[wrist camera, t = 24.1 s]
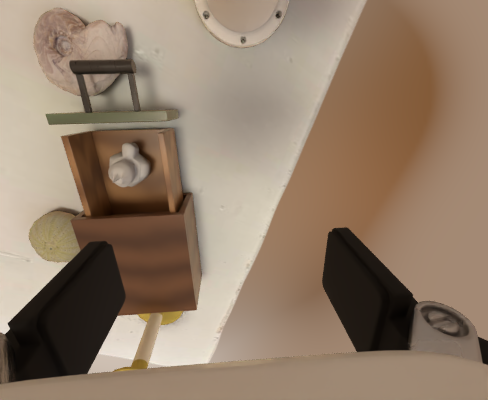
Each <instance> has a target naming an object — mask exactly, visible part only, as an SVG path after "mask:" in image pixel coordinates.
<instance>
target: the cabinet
mask: <svg viewBox="0 0 488 400" xmlns="http://www.w3.org/2000/svg"><path fill="white" fill-rule="evenodd" d="M70 221H71V224H72V227H73V230H74V233H75V236H76V239H77V242H78V245H79V248H80V251H81V250H82V249H83V248H84V247H85V246H86V245H87V244H88V243H89V242H93V241H107V243H108V244H111V245H112V247H113V250H114V254H115V257H116V261H117V264H118V268H119V272H120V275H121V279H122V282H123V286H124V290H125V294H126V298H125V302H124V304H123V306H122V308H121V310H120V312H119V314H118V316H120V315H134V314H148V313H162V312H176V311H190V310H197V304H198V297H199V291H200V284H201V277H202V272H201V263H200V255H199V246H198V237H197V229H196V220H195V211H194V203H193V194H192V193H183V204H182V206H181V208H180V210H179V212H174V213H154V214H134V215H114V216H94V217H86V215H85V212H84V211H82V212H81V213H80V214H78V215H77V216H75V217H74V218H73V219H71V220H70Z"/></svg>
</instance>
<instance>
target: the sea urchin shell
mask: <svg viewBox="0 0 488 400" xmlns="http://www.w3.org/2000/svg"><path fill="white" fill-rule="evenodd" d="M74 217H75V216H74V215H72V214H71V213H66V212H62V211H53V212H51V213H48V214H45V215H43V216H42V217H41V218H40V219H38V220H36V221H35V222H34V224H33V226H32V228H31V229H30V232H29V240H30V242H31V244H32V245H31V246H32V247H33V248H34V249H35V251H36V252H37V254H39V255H40V256H41V257H42V258H43V259H45V260H47V261H53V262H57V263H58V262H69V261H71V260H72V259H73V258H74V257H75V256H76V255H77V254H78V253H79V252H80V248H79V245H78V242H77V239H76V236H75V233H74V230H73V227H72V224H71V221H70V220H71V219H73V218H74Z"/></svg>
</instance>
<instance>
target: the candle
mask: <svg viewBox="0 0 488 400" xmlns="http://www.w3.org/2000/svg"><path fill="white" fill-rule="evenodd" d="M182 312H183V311H176V312H162V313H148V314H138V315H139V317H140V318H141V319H143V320H144V321H146V322H147V325H146V328H145V330H144V333H143V336H142V338H141V341H140V344H139V347H138V349H137V352H136V355H135V358H134V360H133V363H132V366H131V367H123V368H120V369H117V370H114V371H126V370H137V369H147V366H148V363H149V360H150V357H151V353H152V350H153V347H154V344H155V340H156V337H157V334H158V331H159V327H160V325H166V324H169V323H173V322H174V321H176V320H177V319H178V318H179V317H180V316H181V314H182ZM114 371H113V372H114Z"/></svg>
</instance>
